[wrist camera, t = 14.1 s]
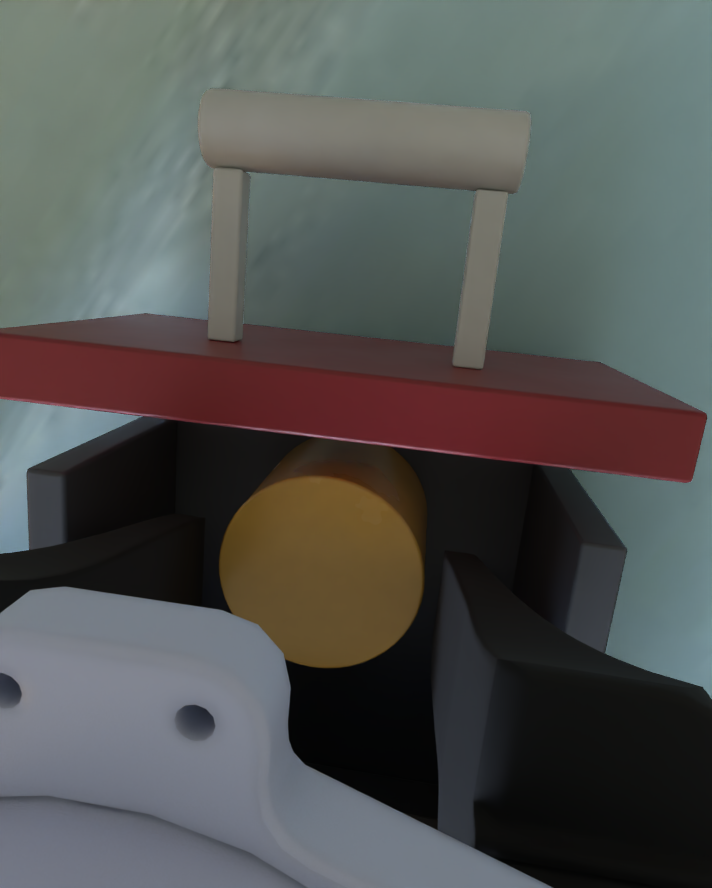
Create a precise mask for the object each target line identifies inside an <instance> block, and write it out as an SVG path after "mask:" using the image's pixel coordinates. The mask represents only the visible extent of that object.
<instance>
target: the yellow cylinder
mask: <svg viewBox="0 0 712 888" xmlns="http://www.w3.org/2000/svg"><path fill="white" fill-rule="evenodd" d="M426 536H427V502H426V498H425V493H424V490H423V487H422V485H421V482H420V480H419V478H418V476H417V474H416V473H415V471H414V470H413V468H412V467H411V466H410V464H409V463H408V462H407V461H406V460H405V459H404V458H403V457H402V456H401V455H400V454H399V453H398V452H396V451H395V450H394V449H393V448H391V447H389V446H381V445H372V444H364V443H356V442H348V441H340V440H332V439H324V438H315V437H314V438H311V439H309V440H307V441H305V442H303V443H301V444H299V445H298V446H297V447H295V448H294V449H292V450H291V451H290V452H289V453H288V454H287V455H286V456H285V457H284V458H283V459H282V460H281V461H280V462H279V464H278V465H277V466H276V467H275V468H274V469H273V470H272V472H271V473H270V474H269V475H268V476H267V477H266V478H265V480H264V481H263V482H262V483H261V484H260V485H259V486H258V488H257V489H256V490H255V491H254V492H253V493H252V494H251V496H250V497H249V498H248V499H247V500H246V501H245V502H244V504H243V505H242V506H241V507H240V508H239V510H238V511H237V512H236V513H235V514H234V516H233V518H232V519H231V521H230V523H229V524H228V527H227V529H226V531H225V534H224V536H223V540H222V543H221V547H220V555H219V575H220V582H221V587H222V590H223V594H224V597H225V600H226V602H227V604H228V606H229V609H230V610H231V612H232V614H233V615H235V616H238V617H240V618H243V619H245V620H248V621H250V622H253V623H255V624H258V625H259V626H260V627H261V628H262V630H263V631H264V632H265V633H266V634H267V635H268V636H269V638H270V639H271V640H272V641H273V642H274V643H275V644H276V645H277V647H278V648H279V649H280V650H281V651H282V652H283V654H284V658H285V660H288V661H291V662H294V663H297V664H300V665H305V666H309V667H317V668H340V667H348V666H352V665H356V664H360V663H363V662H365V661H368V660H370V659H373V658H375V657H377V656H378V655H380V654H382V653H384V652H385V651H386V650H388V649H389V648H390V647H392V646H393V645H394V644H396V643H397V641H398V640H399V639H400V638H401V637H402V636H403V635H404V634H405V633H406V632H407V630H408V629H409V627H410V626H411V625H412V623H413V621H414V619H415V617H416V615H417V613H418V611H419V608H420V605H421V602H422V598H423V593H424V584H425V562H426Z"/></svg>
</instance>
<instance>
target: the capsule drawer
mask: <svg viewBox="0 0 712 888" xmlns="http://www.w3.org/2000/svg"><path fill="white" fill-rule="evenodd" d="M530 135H531V115H530V113H529V112H527V111H520V110H507V109H493V108H479V107H465V106H452V105H438V104H424V103H411V102H397V101H383V100H369V99H356V98H342V97H328V96H315V95H301V94H287V93H273V92H260V91H246V90H232V89H219V88H210V89H208V90H206V91H205V92H204V94H203V95H202V98H201V101H200V106H199V112H198V138H199V144H200V149H201V153H202V156H203V159H204V161H205V163H206V164H207V165H208V166H209V167H211V168H213V169H214V171H213V198H212V225H211V252H210V280H209V307H208V320H203V319H193V318H184V317H175V316H165V315H156V314H147V313H145V314H135V315H125V316H116V317H106V318H96V319H87V320H77V321H67V322H58V323H48V324H38V325H29V326H19V327H9V328H0V399H6V400H14V401H22V402H30V403H38V404H47V405H55V406H63V407H71V408H79V409H87V410H95V411H104V412H112V413H120V414H128V415H136V416H143V417H141V418H138V419H136V420H134V421H132V422H130V423H127V424H125V425H123V426H121V427H119V428H116V429H114V430H112V431H110V432H108V433H105V434H103V435H101V436H99V437H97V438H94V439H92V440H90V441H88V442H86V443H83V444H81V445H79V446H77V447H75V448H72V449H70V450H68V451H66V452H64V453H61V454H59V455H57V456H55V457H53V458H50V459H48V460H46V461H44V462H42V463H39V464H37V465H35V466H33V467H31V468H29V469H28V470H27V501H28V529H29V550H32V549H38V548H43V547H49V546H54V545H59V544H63V543H67V542H71V541H75V540H79V539H83V538H87V537H91V536H94V535H98V534H102V533H106V532H109V531H113V530H116V529H119V528H123V527H126V526H130V525H133V524H136V523H140V522H143V521H146V520H150V519H154V518H157V517H161V516H166V515H171V514H183V515H190V516H198V517H205V536H204V562H203V588H202V604H201V606H200V607H205V608H211V609H218V610H223V611H225V612H228V613H230V614H232V612H231V610H230V609H229V606H228V604H227V602H226V600H225V597H224V594H223V590H222V587H221V582H220V575H219V555H220V547H221V543H222V540H223V536H224V534H225V531H226V529H227V527H228V524H229V523H230V521H231V519H232V518H233V516H234V514H235V513H236V512H237V511H238V510H239V508H240V507H241V506H242V505H243V504H244V502H245V501H246V500H247V499H248V498H249V497H250V496H251V494H252V493H253V492H254V491H255V490H256V489H257V488H258V486H259V485H260V484H261V483H262V482H263V481H264V480H265V478H266V477H267V476H268V475H269V474H270V473H271V472H272V470H273V469H274V468H275V467H276V466H277V465H278V464H279V462H280V461H281V460H282V459H283V458H284V457H285V456H286V455H287V454H288V453H289V452H290V451H291V450H292V449H294V448H295V447H297V446H298V445H299V444H301V443H303V442H305V441H307V440H309V439H311V438H314V437H315V438H324V439H332V440H340V441H348V442H356V443H364V444H372V445H381V446H389V447H391V448H393V449H394V450H395V451H396V452H398V453H399V454H400V455H401V456H402V457H403V458H404V459H405V460H406V461H407V462H408V463H409V464H410V466H411V467H412V468H413V470H414V471H415V473H416V474H417V476H418V478H419V480H420V482H421V485H422V487H423V490H424V493H425V498H426V502H427V536H426V562H425V584H424V593H423V598H422V602H421V605H420V608H419V611H418V613H417V615H416V617H415V619H414V621H413V623H412V625H411V626H410V627H409V629H408V630H407V632H406V633H405V634H404V635H403V636H402V637H401V638H400V639H399V640H398V641H397V643H396V644H394V645H393V646H392V647H390V648H389V649H388V650H386V651H385V652H384V653H382V654H380V655H378V656H377V657H375V658H373V659H370V660H368V661H365V662H363V663H360V664H356V665H352V666H348V667H340V668H317V667H309V666H305V665H300V664H297V663H294V662H291V661H288V660H285V663H286V668H287V672H288V677H289V682H290V687H291V691H290V703H289V716H288V733H289V742H290V744H291V747H292V750H293V752H294V753H295V754H296V755H297V756H298V758H299V759H300V760H301V761H302V762H303V763H304V764H305V765H307V766H309V767H311V768H313V769H315V770H317V771H319V772H321V773H323V774H325V775H327V776H329V777H331V778H333V779H335V780H337V781H339V782H341V783H343V784H345V785H347V786H349V787H351V788H353V789H355V790H357V791H359V792H361V793H363V794H365V795H367V796H369V797H371V798H373V799H375V800H377V801H379V802H381V803H383V804H385V805H387V806H389V807H391V808H393V809H395V810H397V811H399V812H401V813H406V814H412V815H418V816H423V817H429V818H435V819H438V798H439V779H438V760H437V748H436V737H435V725H434V714H433V702H432V690H431V656H432V637H433V630H434V623H435V616H436V609H437V602H438V595H439V588H440V581H441V573H442V566H443V559H444V552H445V550H446V551H454V552H461V553H468V554H474V555H476V556H477V557H478V558H479V559H480V560H481V561H482V562H483V563H484V564H485V566H486V567H487V568H488V569H489V570H490V571H491V572H492V573H493V574H494V575H495V576H496V577H497V578H498V579H499V580H500V581H501V582H502V583H503V584H504V585H505V586H506V587H507V588H508V589H509V590H510V591H511V592H512V593H513V594H514V595H515V596H516V597H518V598H519V599H520V600H521V601H522V602H523V603H525V604H526V605H527V606H528V607H529V608H531V609H532V610H533V611H534V612H536V613H537V614H538V615H540V616H541V617H542V618H544V619H545V620H547V621H548V622H550V623H551V624H553V625H554V626H556V627H557V628H559V629H560V630H562V631H563V632H565V633H566V634H568V635H570V636H572V637H573V638H575V639H577V640H579V641H581V642H583V643H585V644H586V645H588V646H590V647H592V648H594V649H596V650H598V651H600V652H602V653H604V654H605V650H606V646H607V641H608V636H609V632H610V627H611V623H612V618H613V613H614V609H615V604H616V600H617V595H618V591H619V586H620V581H621V577H622V572H623V568H624V563H625V559H626V554H627V548H626V547H625V545H624V544H623V542H622V541H621V540H620V538H619V537H618V535H617V534H616V533H615V531H614V530H613V529H612V527H611V526H610V524H609V523H608V522H607V520H606V519H605V517H604V516H603V515H602V513H601V512H600V510H599V509H598V508H597V506H596V505H595V504H594V502H593V501H592V499H591V498H590V497H589V495H588V494H587V492H586V491H585V490H584V488H583V487H582V486H581V484H580V483H579V481H578V480H577V479H576V477H575V476H574V474H573V473H572V472H571V470H570V469H576V470H584V471H592V472H600V473H609V474H617V475H625V476H633V477H641V478H649V479H657V480H666V481H674V482H682V483H688V482H691V481H692V479H693V475H694V471H695V466H696V462H697V458H698V454H699V450H700V445H701V441H702V437H703V433H704V429H705V425H706V420H707V414H706V413H705V412H703V411H701V410H699V409H697V408H694V407H692V406H690V405H688V404H686V403H684V402H682V401H680V400H678V399H676V398H674V397H672V396H669V395H667V394H665V393H663V392H661V391H659V390H657V389H655V388H653V387H651V386H649V385H647V384H644V383H642V382H640V381H638V380H636V379H634V378H632V377H630V376H628V375H626V374H624V373H622V372H619V371H617V370H615V369H613V368H611V367H609V366H607V365H605V364H603V363H601V362H594V361H585V360H575V359H566V358H557V357H547V356H538V355H529V354H520V353H510V352H501V351H492V350H486V345H487V338H488V331H489V324H490V317H491V311H492V304H493V297H494V290H495V283H496V276H497V269H498V263H499V256H500V249H501V242H502V235H503V228H504V221H505V215H506V208H507V201H508V194H515V193H517V192H518V190H519V188H520V186H521V183H522V179H523V175H524V171H525V166H526V161H527V156H528V150H529V143H530ZM246 172H256V173H268V174H280V175H292V176H303V177H315V178H327V179H339V180H351V181H362V182H374V183H386V184H398V185H409V186H421V187H433V188H445V189H457V190H468V191H476V192H475V194H474V199H473V207H472V215H471V222H470V230H469V237H468V245H467V252H466V260H465V267H464V275H463V282H462V290H461V297H460V305H459V312H458V320H457V327H456V335H455V342H454V346H445V345H436V344H426V343H417V342H408V341H398V340H389V339H380V338H370V337H361V336H352V335H342V334H333V333H324V332H315V331H305V330H296V329H287V328H277V327H268V326H259V325H249V324H243V318H244V298H245V278H246V258H247V238H248V218H249V198H250V179H251V177H250V174H248V173H246Z"/></svg>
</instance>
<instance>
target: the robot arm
mask: <svg viewBox="0 0 712 888" xmlns="http://www.w3.org/2000/svg"><path fill="white" fill-rule="evenodd" d="M204 536H205V517H198V516H190V515H183V514H171V515H166V516H161V517H157V518H154V519H150V520H146V521H143V522H140V523H136V524H133V525H130V526H126V527H123V528H119V529H116V530H113V531H109V532H106V533H102V534H98V535H94V536H91V537H87V538H83V539H79V540H75V541H71V542H67V543H63V544H59V545H54V546H49V547H43V548H38V549H32V550H26V551H20V552H12V553H3V554H0V888H712V699H711V698H710V696H709V695H708V693H707V692H706V691H705V690H704V688H703V687H701V686H697V685H694V684H690V683H687V682H683V681H680V680H677V679H673V678H670V677H666V676H663V675H659V674H656V673H652V672H650V671H647V670H644V669H641V668H639V667H636V666H634V665H631V664H628V663H626V662H623V661H621V660H618V659H616V658H614V657H611V656H609V655H607V654H604V653H602V652H600V651H598V650H596V649H594V648H592V647H590V646H588V645H586V644H585V643H583V642H581V641H579V640H577V639H575V638H573V637H572V636H570V635H568V634H566V633H565V632H563V631H562V630H560V629H559V628H557V627H556V626H554V625H553V624H551V623H550V622H548V621H547V620H545V619H544V618H542V617H541V616H540V615H538V614H537V613H536V612H534V611H533V610H532V609H531V608H529V607H528V606H527V605H526V604H525V603H523V602H522V601H521V600H520V599H519V598H518V597H516V596H515V595H514V594H513V593H512V592H511V591H510V590H509V589H508V588H507V587H506V586H505V585H504V584H503V583H502V582H501V581H500V580H499V579H498V578H497V577H496V576H495V575H494V574H493V573H492V572H491V571H490V570H489V569H488V568H487V567H486V566H485V564H484V563H483V562H482V561H481V560H480V559H479V558H478V557H477V556H476V555H474V554H468V553H461V552H454V551H446V550H445V552H444V559H443V566H442V573H441V581H440V588H439V595H438V602H437V609H436V616H435V623H434V630H433V637H432V656H431V690H432V702H433V714H434V725H435V737H436V748H437V760H438V779H439V798H438V830H436V829H434V828H432V827H430V826H428V825H426V824H424V823H422V822H420V821H418V820H416V819H414V818H412V817H410V816H408V815H405V814H403V813H401V812H399V811H397V810H395V809H393V808H391V807H389V806H387V805H385V804H383V803H381V802H379V801H377V800H375V799H373V798H371V797H369V796H367V795H365V794H363V793H361V792H359V791H357V790H355V789H353V788H351V787H349V786H347V785H345V784H343V783H341V782H339V781H337V780H335V779H333V778H331V777H329V776H327V775H325V774H323V773H321V772H319V771H317V770H315V769H313V768H311V767H309V766H307V765H305V764H304V763H303V762H302V761H301V760H300V759H299V758H298V756H297V755H296V754H295V753H294V752H293V750H292V747H291V744H290V742H289V733H288V716H289V703H290V691H291V687H290V682H289V677H288V672H287V668H286V663H285V658H284V654H283V652H282V651H281V650H280V649H279V648H278V647H277V645H276V644H275V643H274V642H273V641H272V640H271V639H270V638H269V636H268V635H267V634H266V633H265V632H264V631H263V630H262V628H261V627H260V626H259V625H258V624H255V623H253V622H250V621H248V620H245V619H243V618H240V617H238V616H235V615H233V614H230V613H228V612H225V611H223V610H218V609H211V608H205V607H200V606H201V604H202V588H203V562H204Z"/></svg>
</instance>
